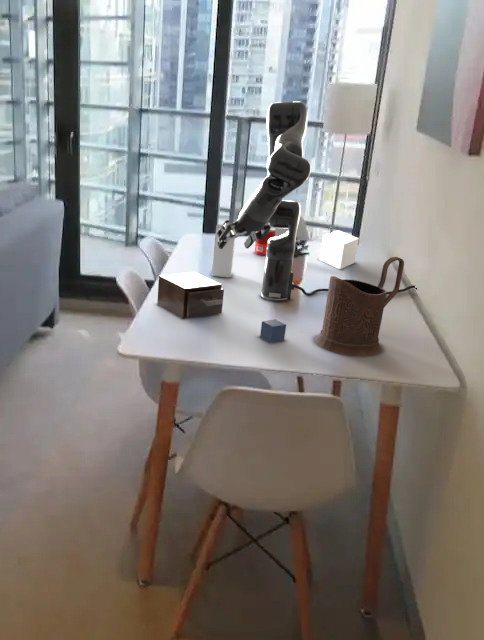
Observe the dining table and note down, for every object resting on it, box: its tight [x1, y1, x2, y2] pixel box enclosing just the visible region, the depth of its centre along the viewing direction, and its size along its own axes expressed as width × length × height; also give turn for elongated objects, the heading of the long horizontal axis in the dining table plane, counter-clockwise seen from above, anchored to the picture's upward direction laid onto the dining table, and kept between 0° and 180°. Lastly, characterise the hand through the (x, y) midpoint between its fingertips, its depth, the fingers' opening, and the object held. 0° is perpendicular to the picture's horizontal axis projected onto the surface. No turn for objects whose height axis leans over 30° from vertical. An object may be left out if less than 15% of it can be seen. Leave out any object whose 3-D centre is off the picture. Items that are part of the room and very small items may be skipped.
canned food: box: [254, 227, 277, 257], centre depth 307 cm, size 8×8×11 cm
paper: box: [319, 229, 360, 270], centre depth 301 cm, size 14×29×10 cm, turn 170°
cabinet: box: [156, 271, 223, 320], centre depth 231 cm, size 16×14×10 cm
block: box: [259, 319, 287, 344], centre depth 209 cm, size 5×5×5 cm
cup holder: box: [315, 256, 405, 357], centre depth 205 cm, size 18×24×25 cm
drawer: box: [185, 288, 225, 319], centre depth 227 cm, size 19×13×8 cm, turn 28°
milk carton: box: [211, 223, 236, 278], centre depth 271 cm, size 7×7×19 cm
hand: (232, 246), depth 205 cm, fingers open, 8 cm apart
